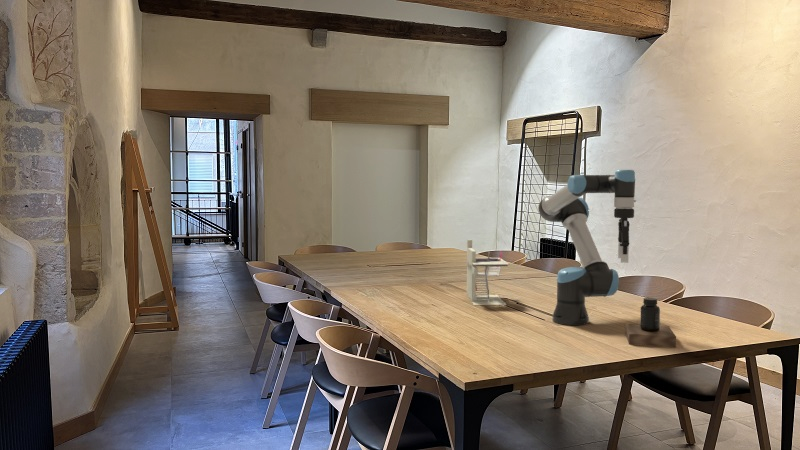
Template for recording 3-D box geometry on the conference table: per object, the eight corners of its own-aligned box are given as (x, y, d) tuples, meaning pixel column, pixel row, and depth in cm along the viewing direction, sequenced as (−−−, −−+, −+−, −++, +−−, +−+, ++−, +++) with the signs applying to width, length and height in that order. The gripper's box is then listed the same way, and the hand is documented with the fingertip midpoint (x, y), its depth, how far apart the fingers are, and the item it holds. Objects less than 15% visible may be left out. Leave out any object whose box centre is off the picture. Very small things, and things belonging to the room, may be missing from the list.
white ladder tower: (510, 305, 290) (511, 245, 288) (473, 305, 290) (474, 245, 288) (500, 295, 317) (501, 239, 315) (466, 295, 317) (467, 239, 315)
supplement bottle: (654, 327, 228) (655, 296, 228) (662, 331, 222) (663, 300, 221) (636, 327, 228) (637, 297, 227) (645, 332, 221) (646, 300, 220)
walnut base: (629, 344, 219) (629, 333, 219) (625, 333, 235) (625, 323, 234) (675, 347, 215) (676, 336, 215) (668, 336, 230) (669, 326, 230)
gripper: (637, 209, 224) (636, 264, 226) (631, 206, 248) (629, 256, 250) (616, 209, 226) (615, 264, 228) (612, 206, 250) (611, 256, 252)
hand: (622, 260), depth 239 cm, fingers open, 13 cm apart
